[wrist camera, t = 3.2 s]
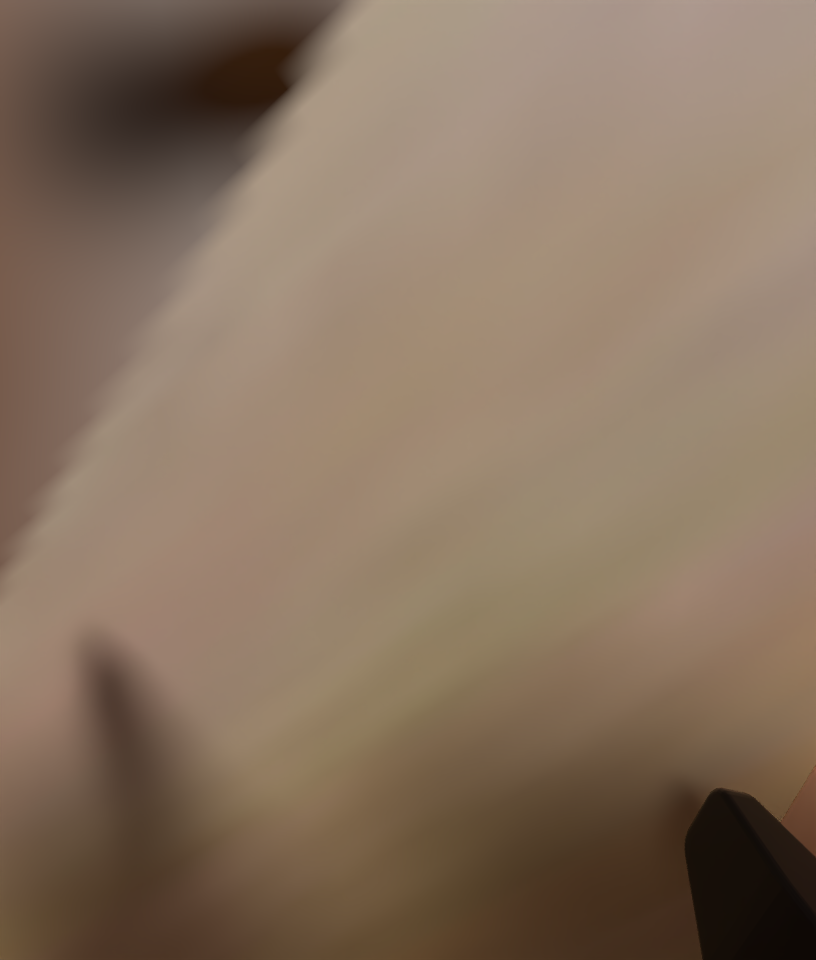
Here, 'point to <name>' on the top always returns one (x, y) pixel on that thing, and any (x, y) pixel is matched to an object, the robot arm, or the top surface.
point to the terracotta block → (804, 814)
